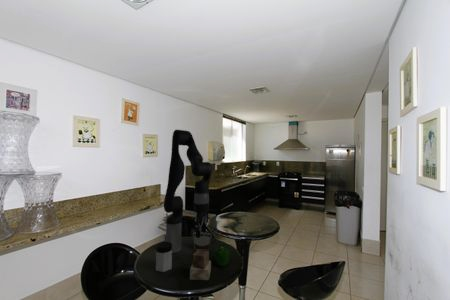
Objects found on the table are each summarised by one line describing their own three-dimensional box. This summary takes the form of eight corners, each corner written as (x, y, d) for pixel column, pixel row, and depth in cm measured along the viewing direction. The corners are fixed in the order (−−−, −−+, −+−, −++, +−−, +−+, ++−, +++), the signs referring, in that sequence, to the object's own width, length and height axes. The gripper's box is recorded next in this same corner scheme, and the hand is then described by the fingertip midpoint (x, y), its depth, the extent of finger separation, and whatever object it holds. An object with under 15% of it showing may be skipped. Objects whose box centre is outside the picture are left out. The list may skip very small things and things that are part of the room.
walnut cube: (192, 267, 105) (192, 254, 105) (198, 261, 111) (198, 249, 111) (203, 269, 103) (204, 256, 103) (208, 263, 109) (208, 251, 109)
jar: (151, 270, 110) (152, 246, 111) (161, 262, 118) (161, 240, 118) (166, 273, 108) (167, 249, 108) (175, 265, 116) (175, 242, 116)
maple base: (189, 279, 103) (190, 269, 103) (193, 269, 112) (193, 260, 112) (208, 280, 102) (208, 270, 102) (210, 270, 111) (210, 260, 111)
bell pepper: (218, 259, 123) (218, 241, 123) (231, 262, 120) (231, 244, 120) (211, 266, 115) (211, 247, 115) (225, 269, 112) (226, 250, 112)
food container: (212, 246, 140) (213, 230, 141) (211, 250, 134) (211, 234, 134) (194, 245, 142) (194, 229, 142) (192, 249, 135) (192, 233, 136)
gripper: (200, 198, 116) (199, 229, 115) (188, 204, 102) (187, 239, 102) (213, 199, 114) (213, 230, 113) (202, 205, 100) (202, 241, 99)
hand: (201, 234), depth 107 cm, fingers open, 7 cm apart
